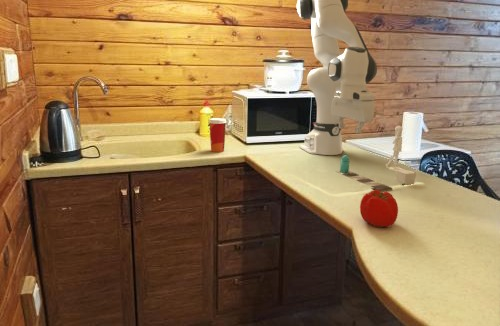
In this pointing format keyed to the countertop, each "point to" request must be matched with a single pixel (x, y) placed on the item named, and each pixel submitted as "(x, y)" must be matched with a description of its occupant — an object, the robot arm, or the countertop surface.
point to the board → (367, 181)
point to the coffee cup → (217, 134)
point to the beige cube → (405, 177)
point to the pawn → (344, 164)
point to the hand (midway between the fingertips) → (349, 130)
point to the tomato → (379, 208)
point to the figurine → (396, 148)
